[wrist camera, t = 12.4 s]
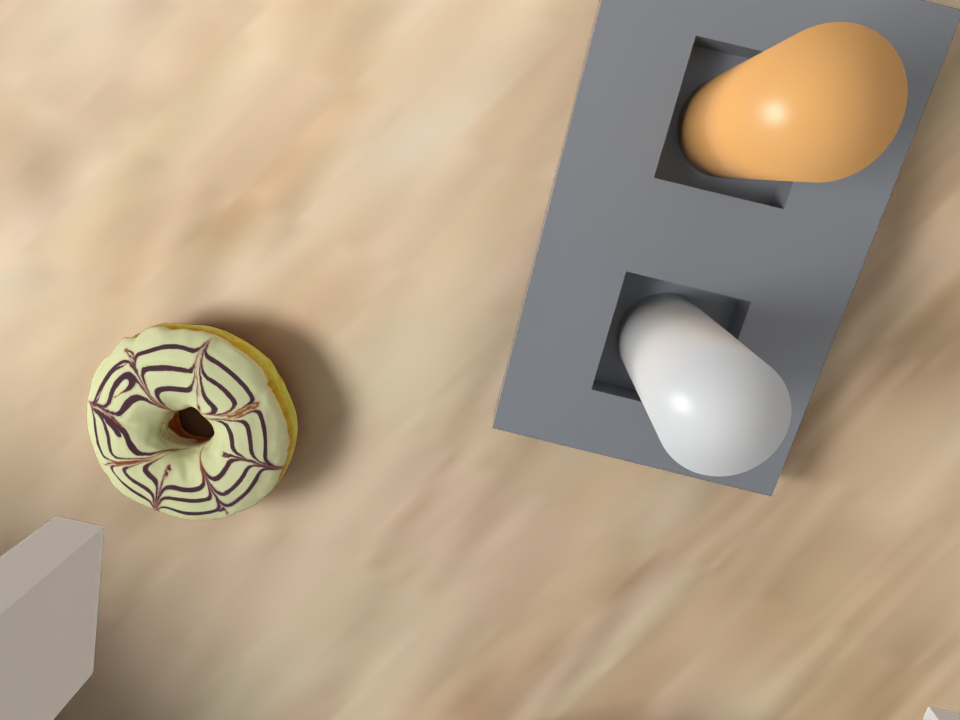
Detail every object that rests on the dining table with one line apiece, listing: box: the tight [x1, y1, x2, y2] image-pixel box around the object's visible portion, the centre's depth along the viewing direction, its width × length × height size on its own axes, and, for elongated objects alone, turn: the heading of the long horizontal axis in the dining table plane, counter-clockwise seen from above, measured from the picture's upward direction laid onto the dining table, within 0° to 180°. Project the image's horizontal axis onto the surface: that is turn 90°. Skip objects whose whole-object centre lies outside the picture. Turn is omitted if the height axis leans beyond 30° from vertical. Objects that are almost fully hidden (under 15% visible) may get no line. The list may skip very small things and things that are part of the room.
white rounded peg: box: [616, 293, 791, 477], centre depth 28 cm, size 4×4×11 cm
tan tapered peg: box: [677, 22, 908, 183], centre depth 25 cm, size 4×4×11 cm
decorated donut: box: [87, 323, 298, 520], centre depth 35 cm, size 10×11×4 cm
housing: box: [493, 0, 960, 496], centre depth 31 cm, size 22×14×2 cm, turn 167°
